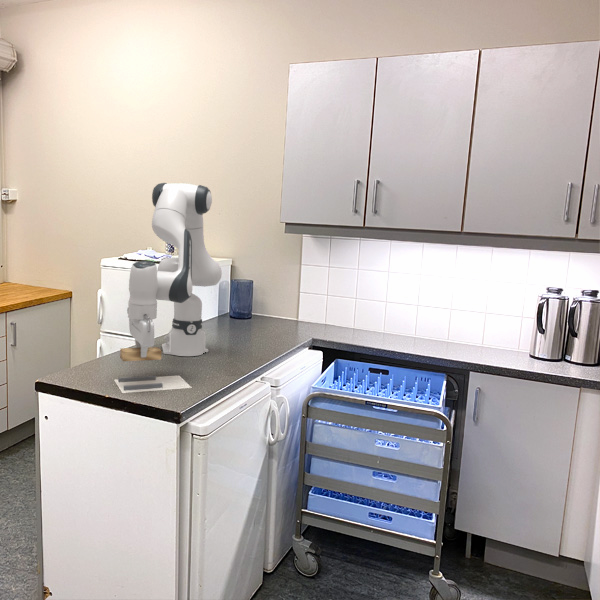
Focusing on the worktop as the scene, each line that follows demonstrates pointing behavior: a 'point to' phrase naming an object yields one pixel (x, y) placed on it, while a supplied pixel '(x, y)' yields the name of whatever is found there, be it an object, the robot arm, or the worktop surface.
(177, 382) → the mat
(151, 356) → the brown wooden block
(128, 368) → the worktop surface
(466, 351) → the worktop surface
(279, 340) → the worktop surface
